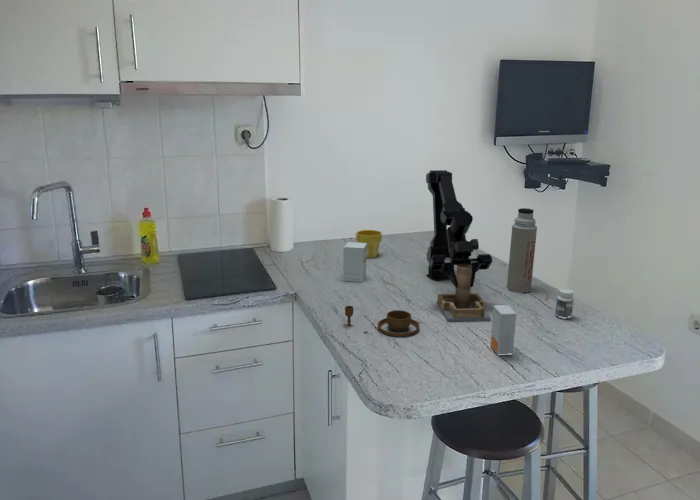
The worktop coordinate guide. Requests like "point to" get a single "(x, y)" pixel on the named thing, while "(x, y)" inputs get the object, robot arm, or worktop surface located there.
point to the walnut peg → (463, 286)
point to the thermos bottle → (522, 251)
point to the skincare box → (503, 329)
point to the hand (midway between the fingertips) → (464, 286)
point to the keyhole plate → (460, 315)
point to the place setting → (392, 322)
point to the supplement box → (354, 261)
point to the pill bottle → (564, 303)
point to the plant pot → (370, 241)
